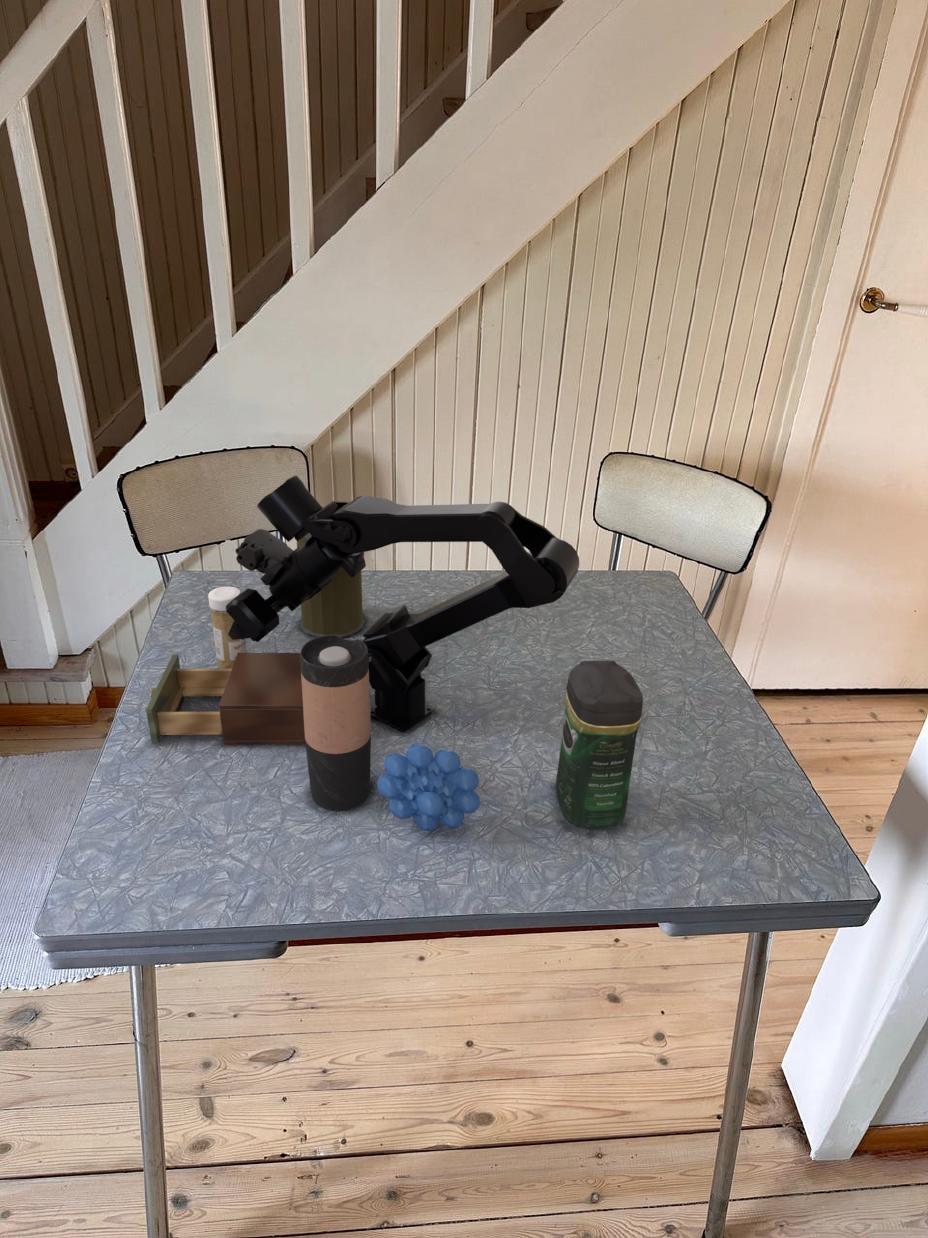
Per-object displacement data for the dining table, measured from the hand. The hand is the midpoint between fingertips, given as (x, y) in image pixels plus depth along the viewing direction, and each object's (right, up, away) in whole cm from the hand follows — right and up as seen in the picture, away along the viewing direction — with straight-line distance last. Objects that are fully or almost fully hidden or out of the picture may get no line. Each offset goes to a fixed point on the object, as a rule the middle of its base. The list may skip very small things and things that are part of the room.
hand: (249, 622), depth 120 cm
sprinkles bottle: (-4, -8, +6) cm, 10 cm away
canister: (+9, 0, +20) cm, 22 cm away
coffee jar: (+46, -22, -18) cm, 54 cm away
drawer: (-5, -12, -4) cm, 14 cm away
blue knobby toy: (+26, -24, -23) cm, 43 cm away
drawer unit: (+5, -13, -4) cm, 14 cm away
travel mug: (+16, -21, -17) cm, 31 cm away
